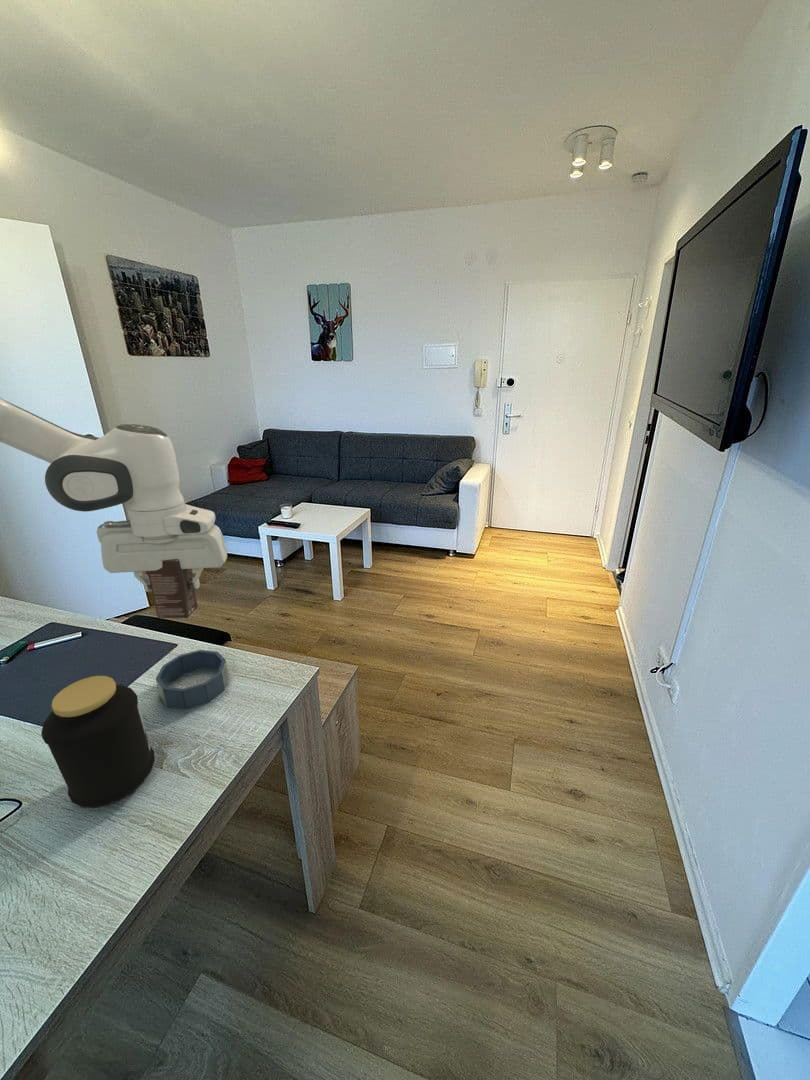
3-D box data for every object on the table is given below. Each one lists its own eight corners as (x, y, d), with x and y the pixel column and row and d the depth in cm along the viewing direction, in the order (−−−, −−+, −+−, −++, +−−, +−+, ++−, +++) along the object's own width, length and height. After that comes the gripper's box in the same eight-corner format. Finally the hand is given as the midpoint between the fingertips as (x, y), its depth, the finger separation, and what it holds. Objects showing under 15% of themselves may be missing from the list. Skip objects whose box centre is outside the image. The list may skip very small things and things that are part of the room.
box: (198, 606, 85) (188, 550, 81) (188, 619, 81) (177, 561, 76) (168, 606, 85) (156, 550, 80) (156, 618, 81) (142, 560, 76)
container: (65, 776, 70) (30, 688, 63) (148, 738, 77) (125, 655, 70) (73, 834, 61) (33, 739, 55) (165, 785, 69) (140, 696, 62)
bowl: (151, 713, 83) (146, 694, 81) (173, 669, 95) (169, 652, 93) (219, 705, 85) (216, 687, 83) (232, 663, 97) (230, 647, 95)
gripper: (84, 528, 71) (104, 601, 76) (215, 523, 75) (226, 593, 80) (102, 515, 77) (120, 584, 82) (223, 512, 80) (233, 578, 86)
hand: (173, 589), depth 81 cm, fingers closed on box, 6 cm apart
